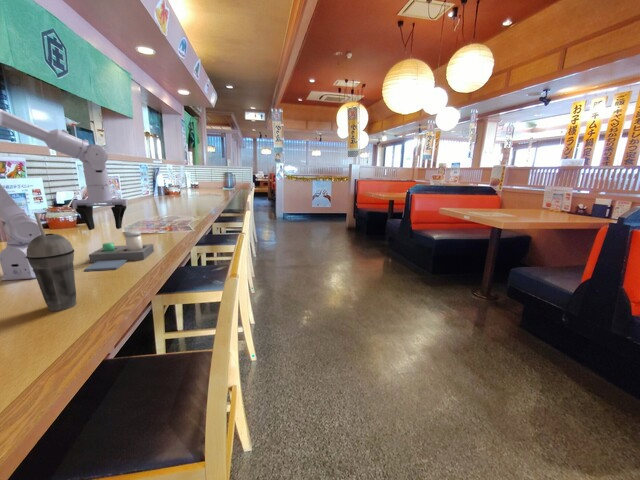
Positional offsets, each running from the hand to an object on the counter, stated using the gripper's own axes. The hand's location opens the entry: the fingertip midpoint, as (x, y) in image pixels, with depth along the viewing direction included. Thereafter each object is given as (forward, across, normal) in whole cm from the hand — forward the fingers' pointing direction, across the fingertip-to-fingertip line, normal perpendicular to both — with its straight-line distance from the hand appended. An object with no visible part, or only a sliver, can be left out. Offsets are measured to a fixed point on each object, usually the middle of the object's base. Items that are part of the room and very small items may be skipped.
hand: (105, 228), depth 93 cm
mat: (+9, -3, +10) cm, 14 cm away
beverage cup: (+10, -6, +37) cm, 39 cm away
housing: (+9, -4, 0) cm, 10 cm away
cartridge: (+9, -8, 0) cm, 12 cm away
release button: (+8, 0, 0) cm, 8 cm away
